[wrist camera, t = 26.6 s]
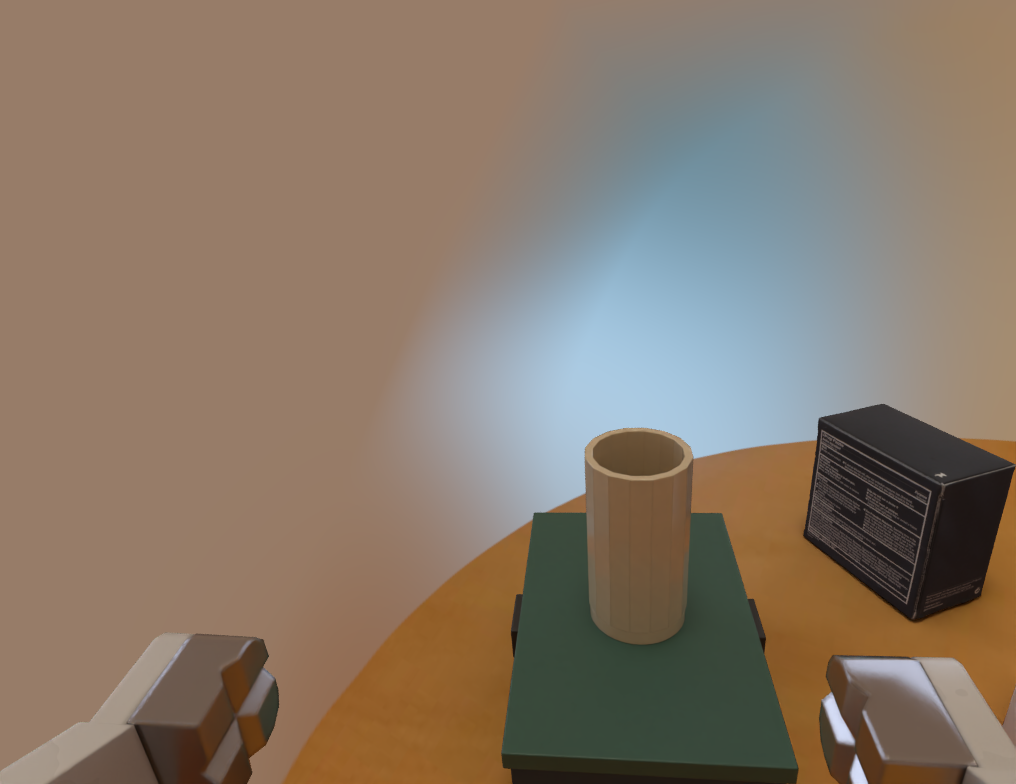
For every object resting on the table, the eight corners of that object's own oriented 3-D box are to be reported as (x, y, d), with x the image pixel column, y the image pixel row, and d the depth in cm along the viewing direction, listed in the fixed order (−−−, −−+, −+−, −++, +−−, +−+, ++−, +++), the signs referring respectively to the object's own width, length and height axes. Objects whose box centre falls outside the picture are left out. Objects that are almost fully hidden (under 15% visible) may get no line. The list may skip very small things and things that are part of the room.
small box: (988, 597, 46) (1025, 462, 42) (913, 624, 44) (943, 487, 40) (865, 515, 55) (885, 398, 51) (799, 535, 53) (814, 416, 49)
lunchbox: (793, 873, 31) (810, 769, 28) (503, 852, 33) (491, 753, 30) (723, 595, 48) (729, 512, 45) (533, 591, 50) (527, 512, 47)
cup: (589, 643, 35) (584, 480, 31) (589, 577, 40) (585, 428, 36) (691, 646, 35) (699, 480, 31) (679, 579, 39) (685, 427, 35)
